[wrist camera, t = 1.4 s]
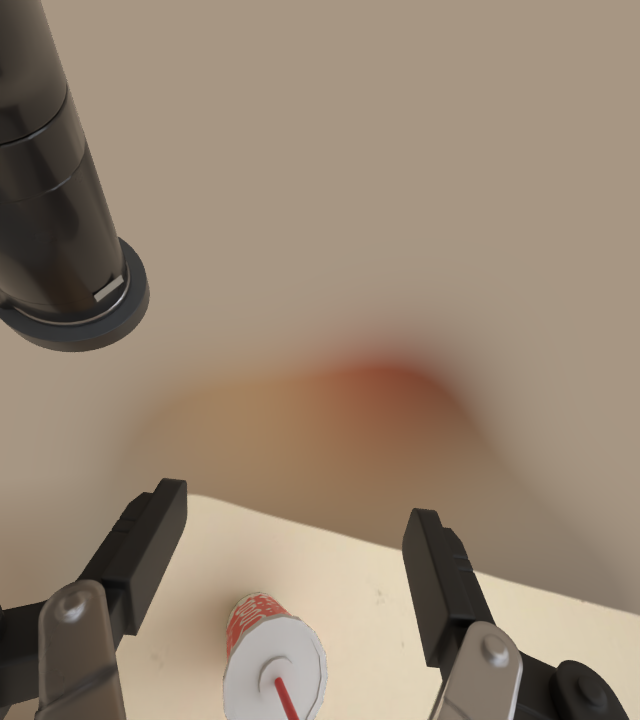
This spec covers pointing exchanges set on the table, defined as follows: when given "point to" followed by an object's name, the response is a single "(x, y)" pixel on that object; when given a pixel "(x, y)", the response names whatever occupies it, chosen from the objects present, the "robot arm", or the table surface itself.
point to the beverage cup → (272, 663)
